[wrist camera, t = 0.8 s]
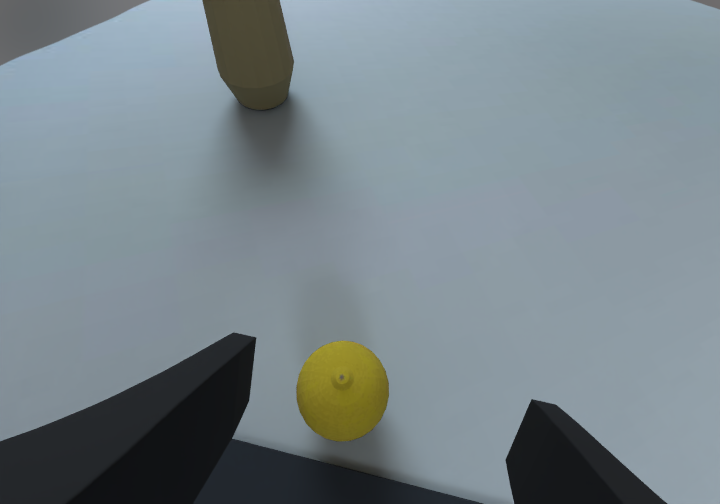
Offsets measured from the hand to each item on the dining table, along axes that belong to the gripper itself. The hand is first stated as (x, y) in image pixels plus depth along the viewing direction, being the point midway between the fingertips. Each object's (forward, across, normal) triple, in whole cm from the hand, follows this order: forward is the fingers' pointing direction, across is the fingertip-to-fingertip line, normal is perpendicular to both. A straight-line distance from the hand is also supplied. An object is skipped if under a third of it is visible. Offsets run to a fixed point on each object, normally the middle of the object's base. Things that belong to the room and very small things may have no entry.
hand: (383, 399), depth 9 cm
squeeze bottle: (+36, +17, -8) cm, 41 cm away
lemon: (+13, +1, +11) cm, 17 cm away
